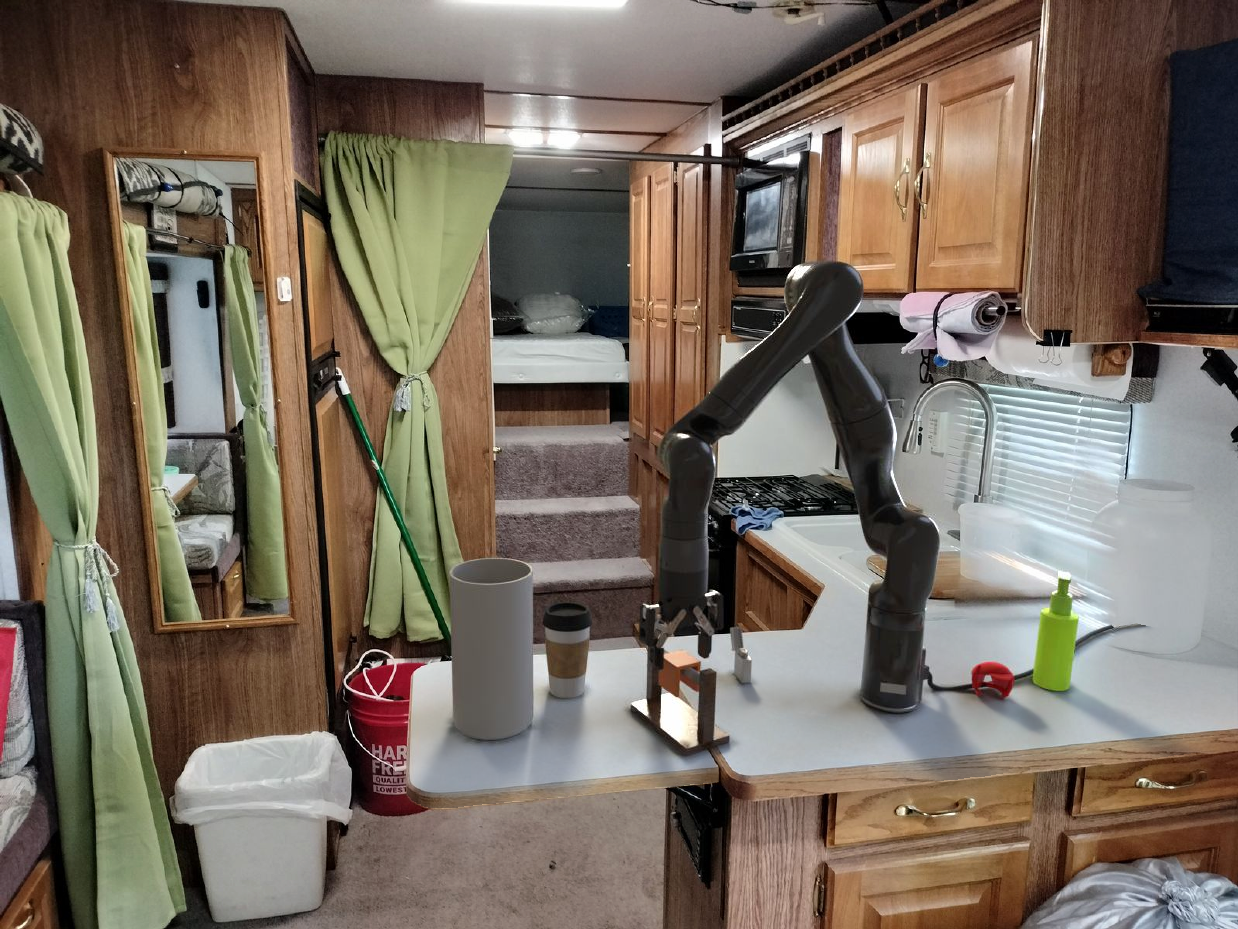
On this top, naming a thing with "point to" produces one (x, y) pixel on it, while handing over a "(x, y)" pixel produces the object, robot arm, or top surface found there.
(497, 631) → the cylinder vase
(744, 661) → the lighter
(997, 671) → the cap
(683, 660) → the clip
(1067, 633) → the soap dispenser
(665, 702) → the handle stand
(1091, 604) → the top surface
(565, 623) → the coffee cup
